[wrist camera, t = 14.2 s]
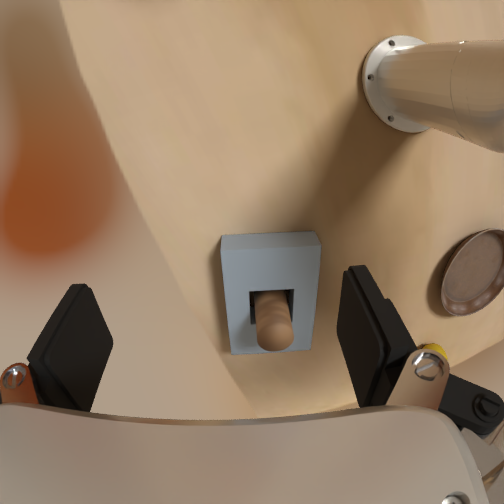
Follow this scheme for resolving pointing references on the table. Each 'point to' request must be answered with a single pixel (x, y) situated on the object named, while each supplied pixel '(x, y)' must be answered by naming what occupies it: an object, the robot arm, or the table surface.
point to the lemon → (436, 349)
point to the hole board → (270, 283)
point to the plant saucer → (474, 273)
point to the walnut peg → (273, 320)
